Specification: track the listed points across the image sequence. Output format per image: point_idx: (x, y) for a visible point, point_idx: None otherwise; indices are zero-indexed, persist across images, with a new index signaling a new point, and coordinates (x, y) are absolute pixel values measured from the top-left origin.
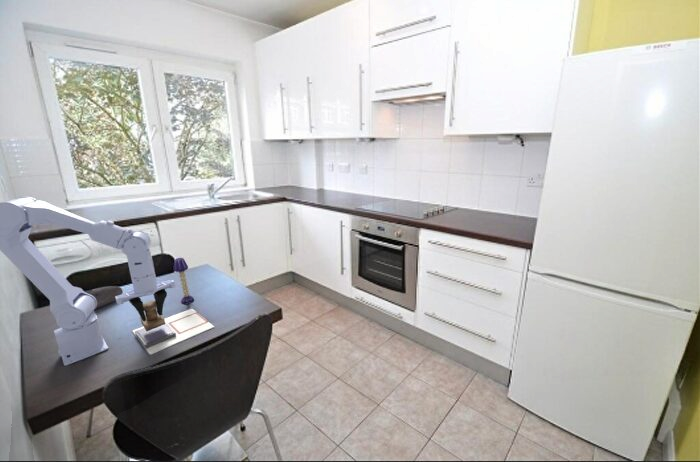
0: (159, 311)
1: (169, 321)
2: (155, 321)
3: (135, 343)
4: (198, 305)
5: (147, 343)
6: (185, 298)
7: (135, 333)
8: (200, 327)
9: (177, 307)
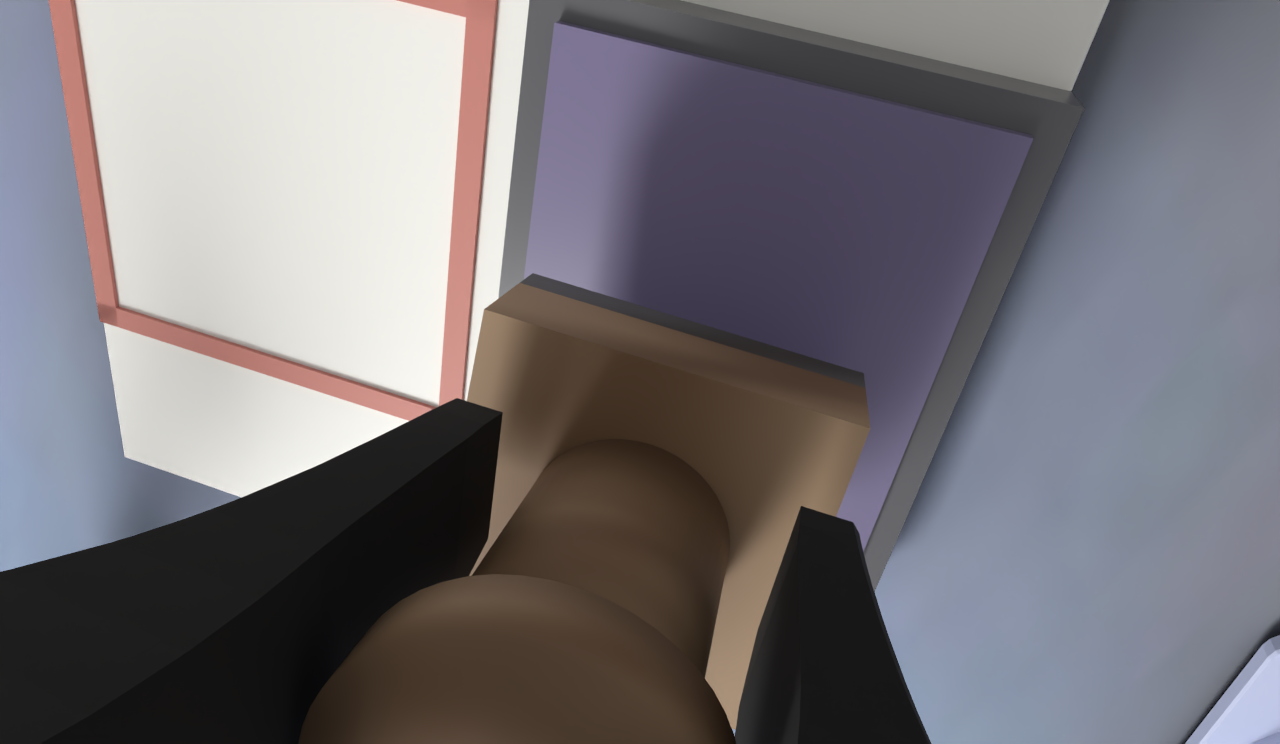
0: (444, 464)
1: None
2: (650, 382)
3: (997, 421)
4: (56, 453)
5: (1020, 122)
6: None
7: None
8: None
9: None
